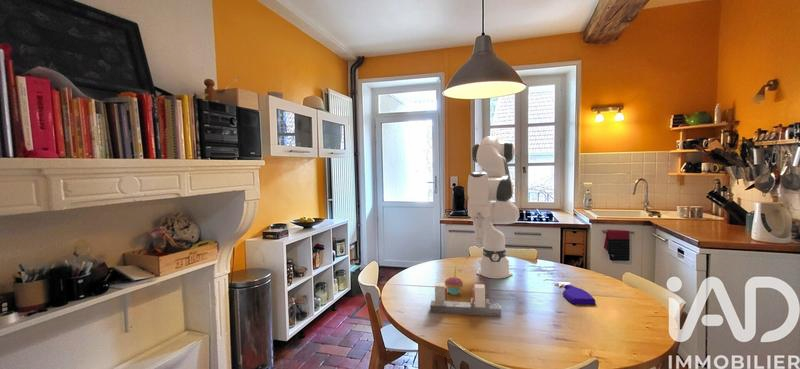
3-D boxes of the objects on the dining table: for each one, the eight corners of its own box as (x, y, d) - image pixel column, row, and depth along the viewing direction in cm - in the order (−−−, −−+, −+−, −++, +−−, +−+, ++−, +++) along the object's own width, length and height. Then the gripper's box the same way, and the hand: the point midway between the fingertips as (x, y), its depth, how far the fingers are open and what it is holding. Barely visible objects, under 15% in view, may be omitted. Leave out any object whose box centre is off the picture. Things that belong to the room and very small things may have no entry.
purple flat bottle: (598, 299, 142) (574, 280, 166) (571, 298, 143) (551, 279, 167) (598, 306, 142) (574, 286, 166) (571, 305, 143) (551, 285, 168)
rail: (431, 307, 144) (431, 282, 143) (499, 311, 139) (499, 284, 138) (430, 312, 139) (429, 286, 138) (501, 316, 134) (500, 289, 133)
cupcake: (449, 288, 165) (448, 264, 164) (465, 291, 161) (465, 266, 160) (442, 294, 158) (441, 269, 157) (459, 297, 153) (458, 271, 153)
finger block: (472, 302, 140) (472, 284, 140) (484, 303, 139) (484, 284, 139) (472, 307, 136) (472, 287, 136) (485, 307, 135) (485, 288, 135)
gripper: (488, 216, 128) (489, 251, 130) (485, 207, 148) (485, 238, 150) (471, 216, 129) (472, 251, 131) (470, 207, 150) (470, 237, 151)
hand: (479, 244), depth 140 cm, fingers open, 8 cm apart
